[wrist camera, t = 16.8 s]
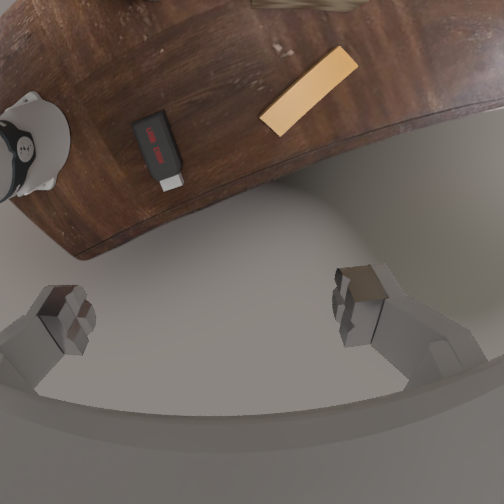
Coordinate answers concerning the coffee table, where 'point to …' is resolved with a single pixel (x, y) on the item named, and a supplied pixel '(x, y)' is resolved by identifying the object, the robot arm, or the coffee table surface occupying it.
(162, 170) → the usb drive
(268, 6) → the brown wood grain post
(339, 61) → the tan rectangular block
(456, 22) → the coffee table surface
